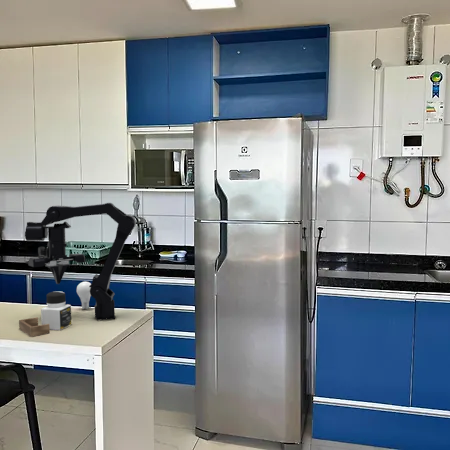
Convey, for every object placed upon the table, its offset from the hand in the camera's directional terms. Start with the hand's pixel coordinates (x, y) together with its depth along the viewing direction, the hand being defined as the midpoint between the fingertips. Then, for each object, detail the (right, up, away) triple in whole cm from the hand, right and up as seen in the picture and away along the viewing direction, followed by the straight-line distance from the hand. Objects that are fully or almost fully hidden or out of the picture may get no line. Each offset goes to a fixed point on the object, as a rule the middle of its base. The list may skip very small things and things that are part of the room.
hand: (58, 283), depth 171 cm
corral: (-3, -14, -14) cm, 20 cm away
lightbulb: (+5, -12, +16) cm, 20 cm away
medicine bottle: (+3, -14, -9) cm, 17 cm away
